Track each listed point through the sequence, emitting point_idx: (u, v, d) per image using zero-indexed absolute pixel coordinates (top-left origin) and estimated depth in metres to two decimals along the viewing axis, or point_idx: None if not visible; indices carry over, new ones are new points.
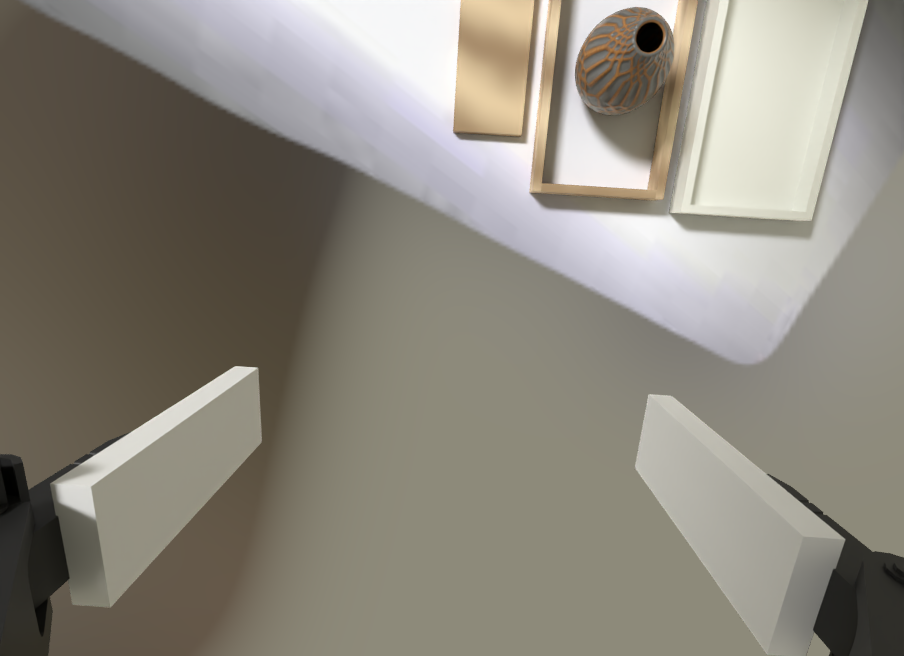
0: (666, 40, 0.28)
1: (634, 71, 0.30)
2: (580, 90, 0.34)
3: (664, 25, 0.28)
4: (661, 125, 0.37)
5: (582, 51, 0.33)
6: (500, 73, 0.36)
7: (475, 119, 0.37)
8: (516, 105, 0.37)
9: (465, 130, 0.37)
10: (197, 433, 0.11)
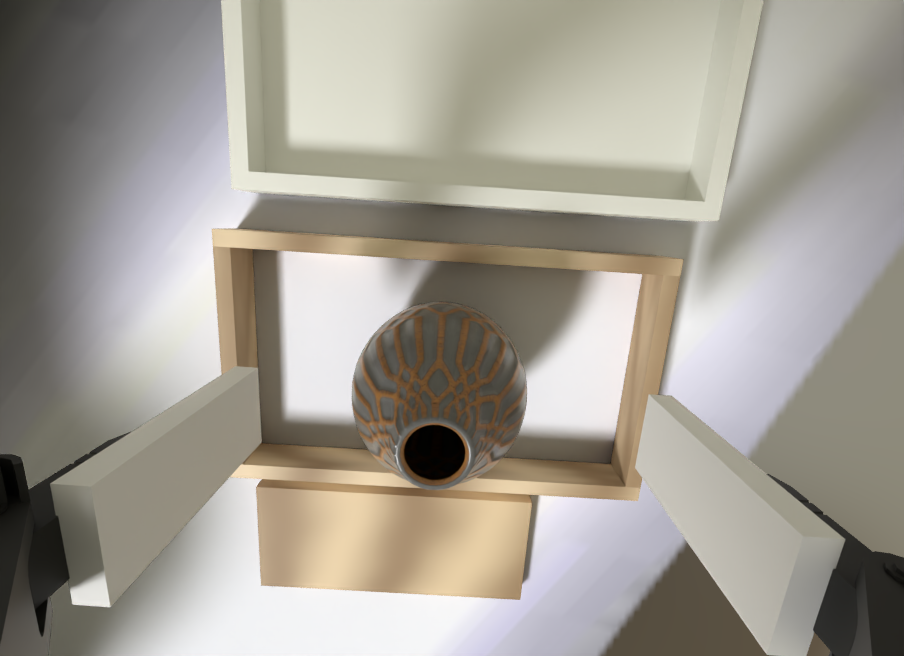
0: (441, 419, 0.12)
1: (488, 446, 0.14)
2: None
3: (411, 427, 0.12)
4: None
5: (422, 470, 0.17)
6: (437, 536, 0.22)
7: (505, 569, 0.23)
8: (485, 512, 0.22)
9: (520, 583, 0.23)
10: (197, 433, 0.11)
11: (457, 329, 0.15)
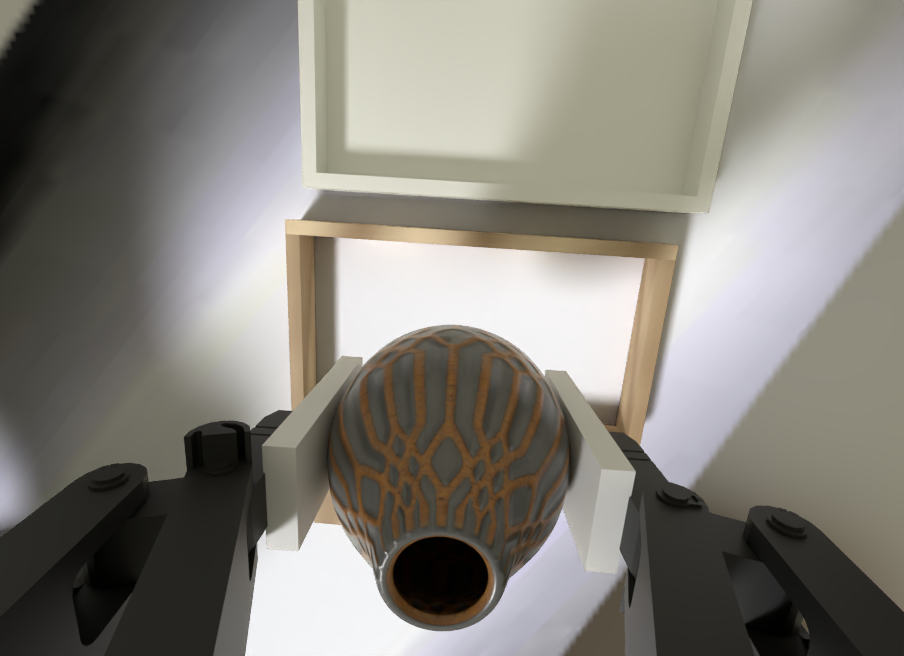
0: (451, 529, 0.08)
1: (521, 553, 0.09)
2: None
3: (403, 540, 0.08)
4: None
5: (425, 551, 0.13)
6: None
7: None
8: None
9: None
10: None
11: (475, 372, 0.10)
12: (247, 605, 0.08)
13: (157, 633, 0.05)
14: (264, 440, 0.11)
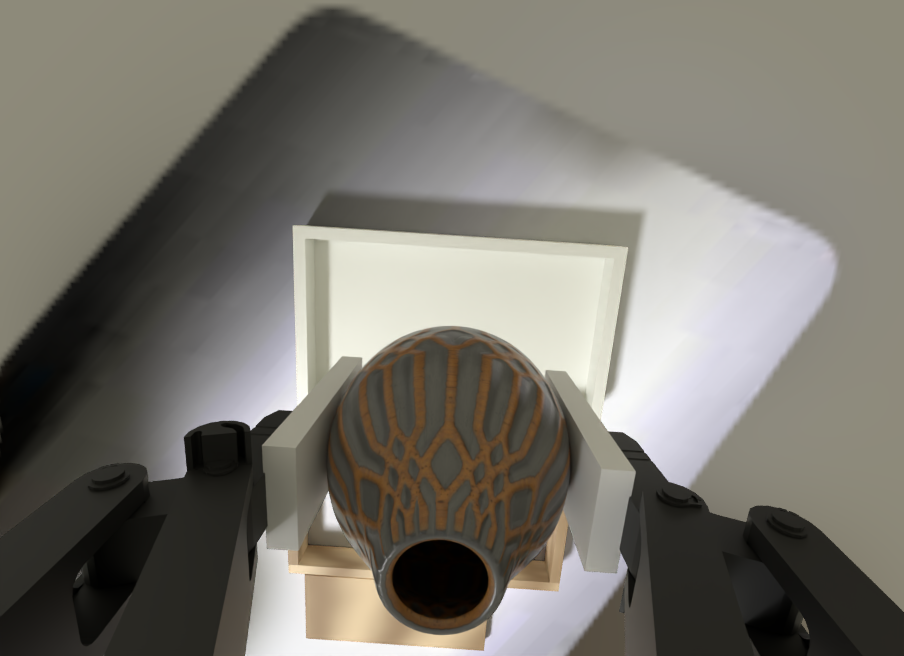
0: (451, 532, 0.08)
1: (521, 555, 0.09)
2: None
3: (402, 544, 0.08)
4: None
5: (424, 553, 0.13)
6: None
7: (472, 630, 0.33)
8: None
9: (483, 639, 0.33)
10: None
11: (475, 373, 0.10)
12: (247, 605, 0.08)
13: (157, 633, 0.05)
14: (264, 440, 0.11)
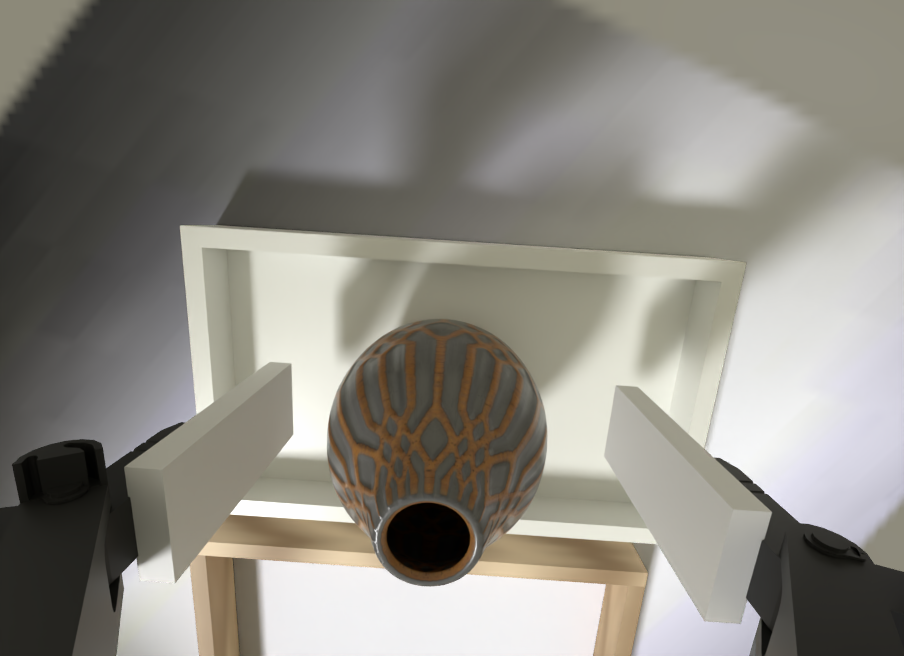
0: (437, 496, 0.09)
1: (500, 520, 0.10)
2: None
3: (395, 506, 0.09)
4: None
5: None
6: None
7: None
8: None
9: None
10: (243, 424, 0.12)
11: (460, 361, 0.11)
12: (112, 639, 0.07)
13: None
14: None
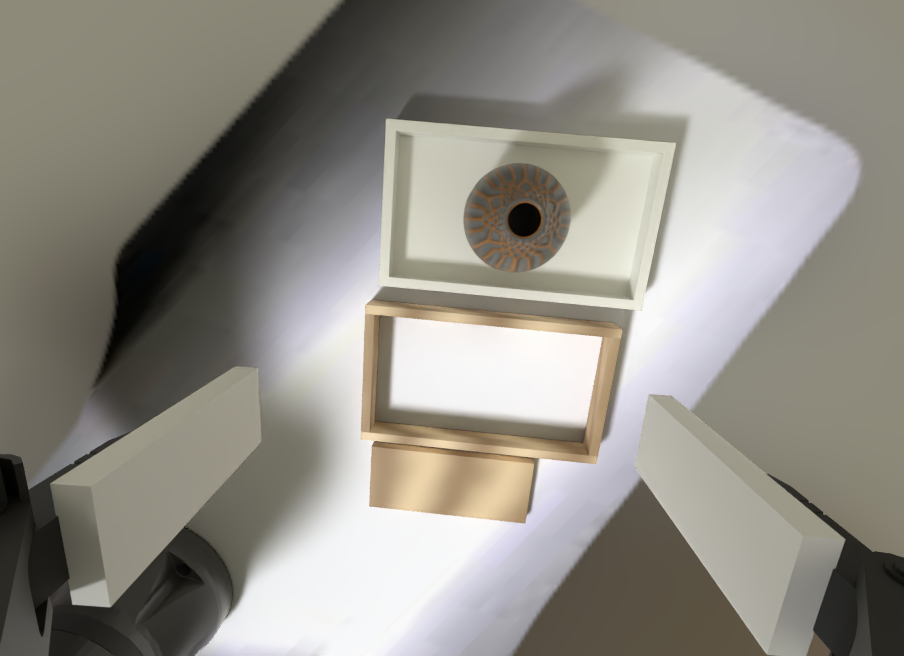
0: (530, 198, 0.23)
1: (551, 228, 0.24)
2: None
3: (513, 203, 0.23)
4: None
5: (502, 270, 0.28)
6: (476, 481, 0.37)
7: (516, 503, 0.37)
8: (506, 468, 0.37)
9: (525, 512, 0.38)
10: (197, 433, 0.11)
11: (533, 168, 0.25)
12: None
13: None
14: None
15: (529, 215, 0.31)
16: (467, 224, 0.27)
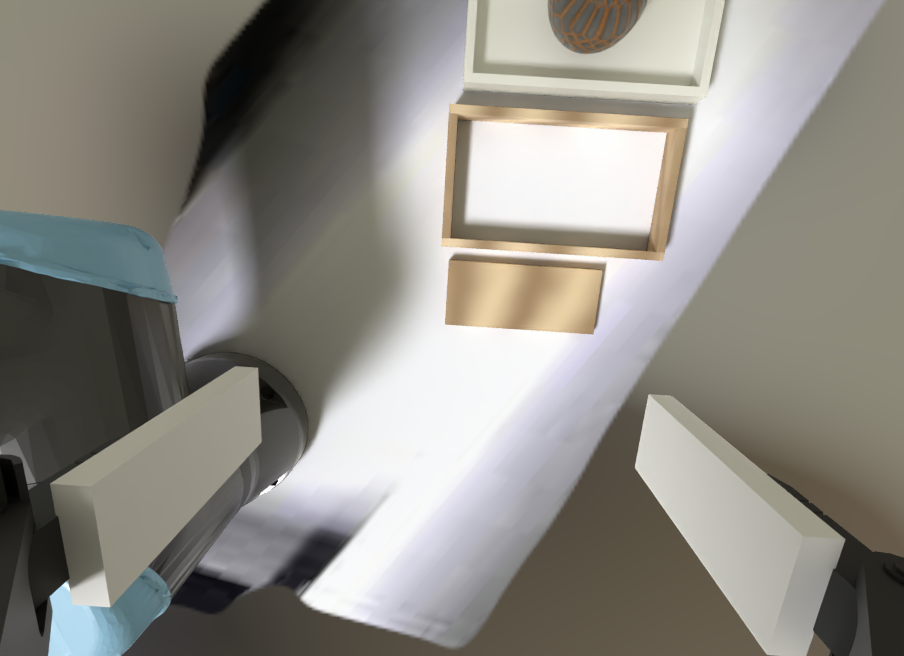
0: None
1: None
2: (614, 44, 0.32)
3: None
4: (606, 126, 0.36)
5: (586, 43, 0.31)
6: (547, 291, 0.39)
7: (585, 313, 0.40)
8: (576, 276, 0.39)
9: (593, 323, 0.40)
10: (197, 433, 0.11)
11: None
12: None
13: None
14: None
15: None
16: None
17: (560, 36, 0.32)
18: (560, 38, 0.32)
